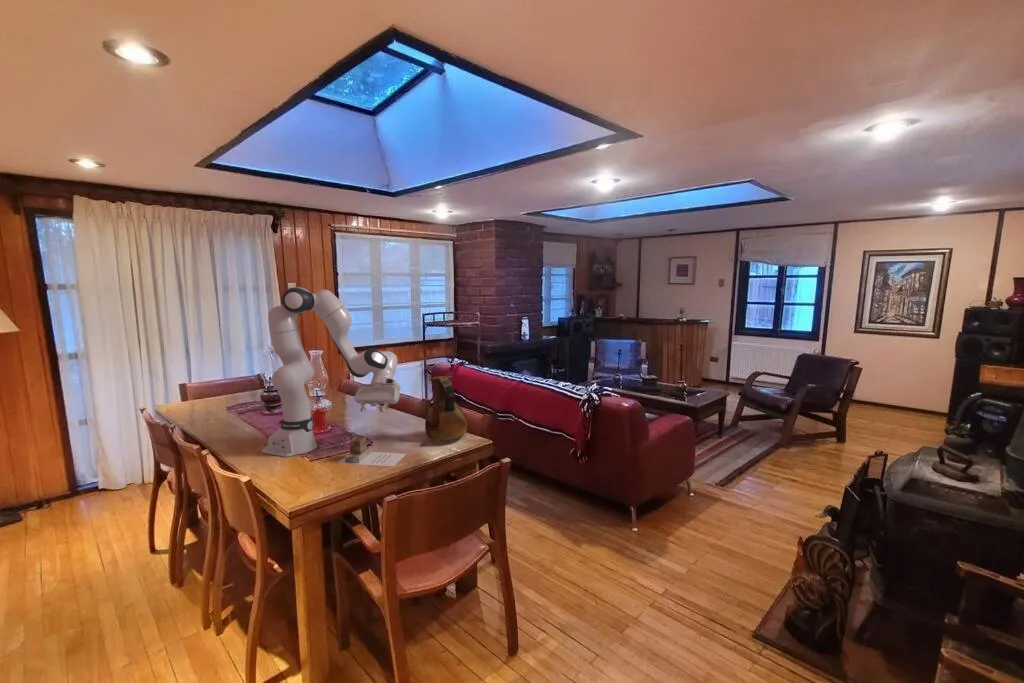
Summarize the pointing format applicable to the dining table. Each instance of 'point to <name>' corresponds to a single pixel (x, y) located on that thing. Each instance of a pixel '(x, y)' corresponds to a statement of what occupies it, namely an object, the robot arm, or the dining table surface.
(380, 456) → the board
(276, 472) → the dining table surface
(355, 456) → the sanding block
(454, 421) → the ceramic pitcher
